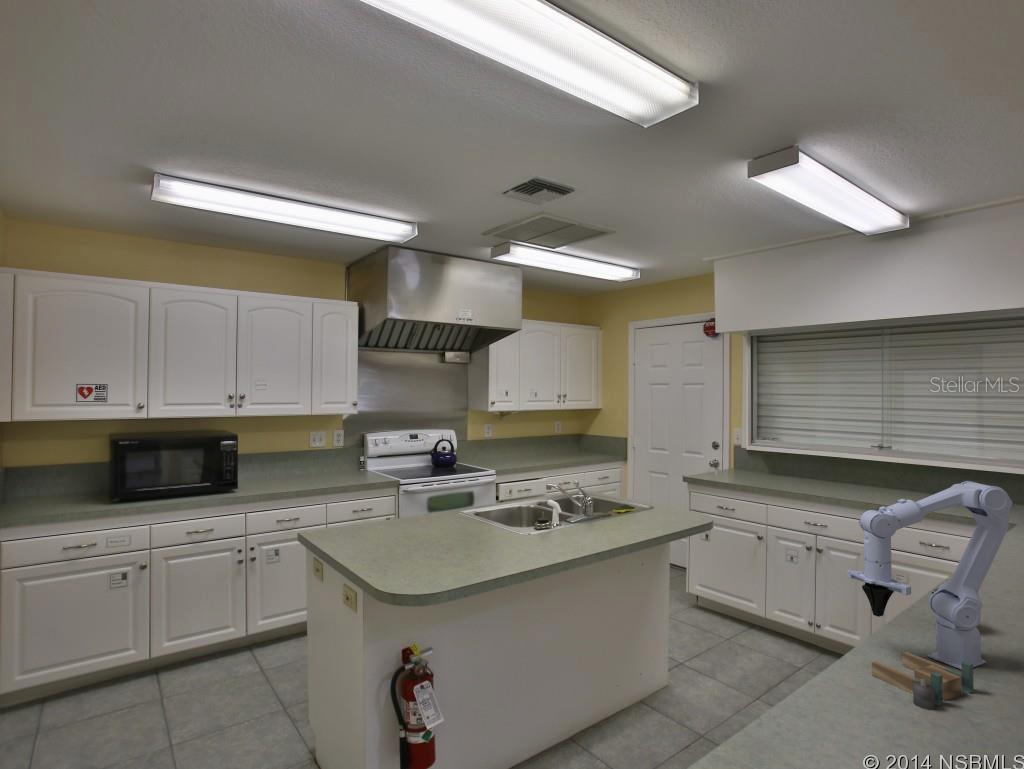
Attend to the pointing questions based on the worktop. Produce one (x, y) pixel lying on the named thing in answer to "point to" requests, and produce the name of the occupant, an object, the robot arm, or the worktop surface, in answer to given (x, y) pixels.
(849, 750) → the worktop surface
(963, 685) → the bay
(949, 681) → the brown wooden block
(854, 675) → the worktop surface
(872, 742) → the worktop surface
